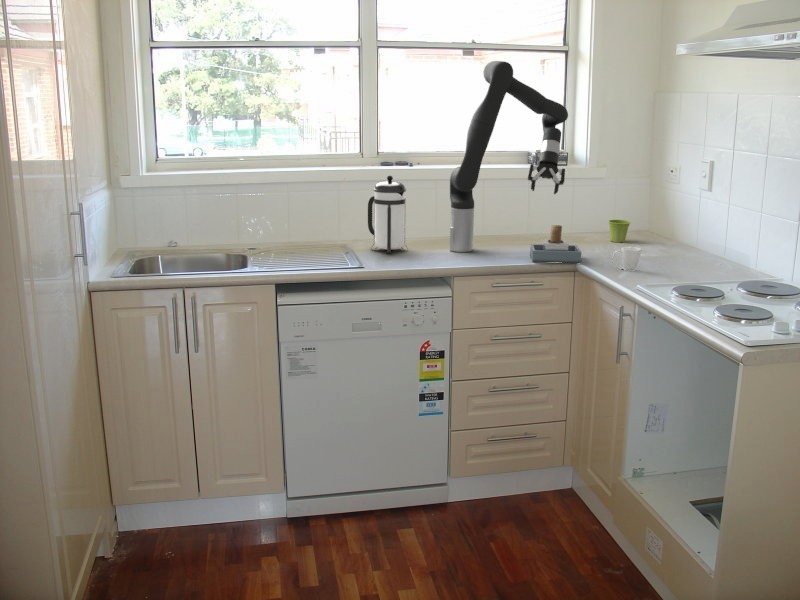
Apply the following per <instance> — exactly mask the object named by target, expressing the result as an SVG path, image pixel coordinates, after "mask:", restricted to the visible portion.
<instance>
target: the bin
mask: <svg viewBox="0 0 800 600" xmlns="http://www.w3.org/2000/svg"><path fill="white" fill-rule="evenodd" d="M529 248H530V249H529V256H530V260H531V263H532V262H562V263H561V264H568V263H571V264H570V265H572V264H573V265H577V263H581V261H582V251H581V249H580V247H579V246H578V245H576V244H568V251H543V243H541V244H538V243H537V244H536V243H534V244H533V243H531V244H529ZM581 264H582V263H581Z"/></svg>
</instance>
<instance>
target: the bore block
mask: <svg viewBox="0 0 800 600" xmlns="http://www.w3.org/2000/svg"><path fill="white" fill-rule="evenodd" d="M542 244H543V251H568V245H569V243H568V241H567V239H561V243H550V239H549V238H548V239H547V238H546V239H543V241H542Z"/></svg>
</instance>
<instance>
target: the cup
mask: <svg viewBox="0 0 800 600" xmlns="http://www.w3.org/2000/svg"><path fill="white" fill-rule="evenodd" d="M618 252H619V253H621V263H622V266H623V268H621V267H620V266H619V265H617V264H616V263H615V262H614V259H613V258H614V255H615V254H616V253H618ZM641 253H642V248H640V247H636V246H623V247H621V250H620V249H617V250H616V251H614V252H613V253H612V255H611V256H612V257H611V262H612V264H613V265H614V266H615V267H616V268H618V269H620V270H621V269H624V270H623V271H625V270H628V271H627V272H636V271H637V269H636V268H637V266H638V264H639V261H640V256H641ZM635 270H636V271H635Z"/></svg>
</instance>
